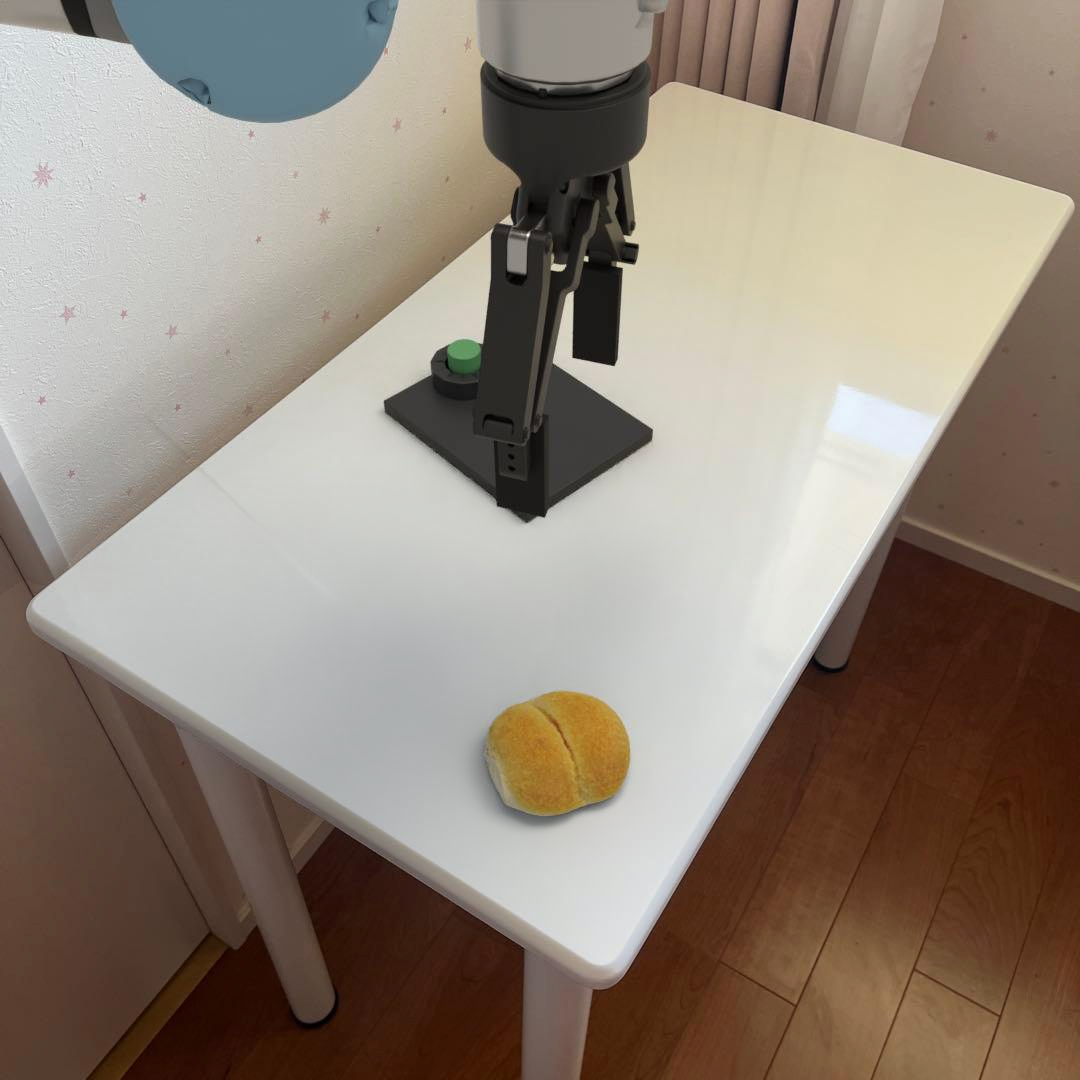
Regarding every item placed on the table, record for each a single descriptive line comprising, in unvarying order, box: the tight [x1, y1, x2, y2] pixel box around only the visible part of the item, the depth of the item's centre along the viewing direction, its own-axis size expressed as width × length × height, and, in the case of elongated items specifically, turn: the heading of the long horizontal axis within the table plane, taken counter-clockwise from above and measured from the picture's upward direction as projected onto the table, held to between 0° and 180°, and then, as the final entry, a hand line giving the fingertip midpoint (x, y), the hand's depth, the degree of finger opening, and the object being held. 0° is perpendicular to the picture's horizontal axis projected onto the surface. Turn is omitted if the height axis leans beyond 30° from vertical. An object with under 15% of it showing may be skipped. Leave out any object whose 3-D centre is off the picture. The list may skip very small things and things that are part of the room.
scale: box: [383, 342, 654, 523], centre depth 91 cm, size 18×14×3 cm
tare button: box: [447, 338, 481, 375], centre depth 93 cm, size 3×3×2 cm
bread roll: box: [483, 690, 631, 817], centre depth 69 cm, size 8×9×4 cm
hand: (561, 428), depth 64 cm, fingers open, 13 cm apart
